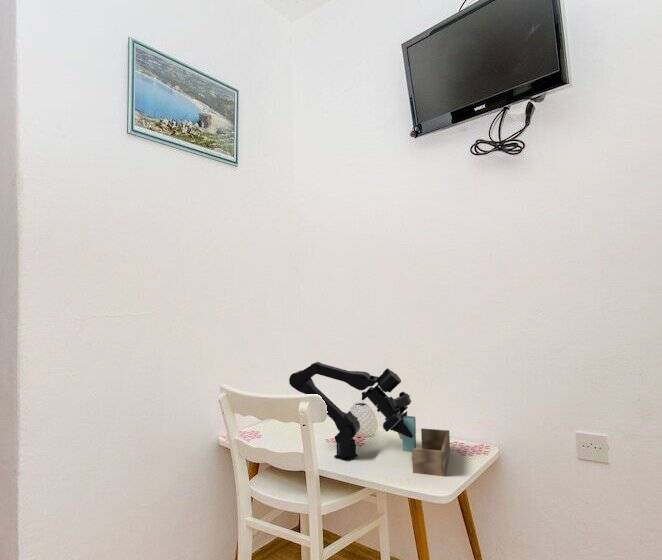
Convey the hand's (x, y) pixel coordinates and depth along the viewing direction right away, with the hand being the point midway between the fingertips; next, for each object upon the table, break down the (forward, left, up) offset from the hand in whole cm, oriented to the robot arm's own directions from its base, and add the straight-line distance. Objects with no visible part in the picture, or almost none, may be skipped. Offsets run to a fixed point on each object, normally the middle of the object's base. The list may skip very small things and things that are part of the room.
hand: (413, 435), depth 147 cm
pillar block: (-1, 0, -5) cm, 5 cm away
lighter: (-9, +12, -10) cm, 18 cm away
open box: (+7, +2, -10) cm, 12 cm away
